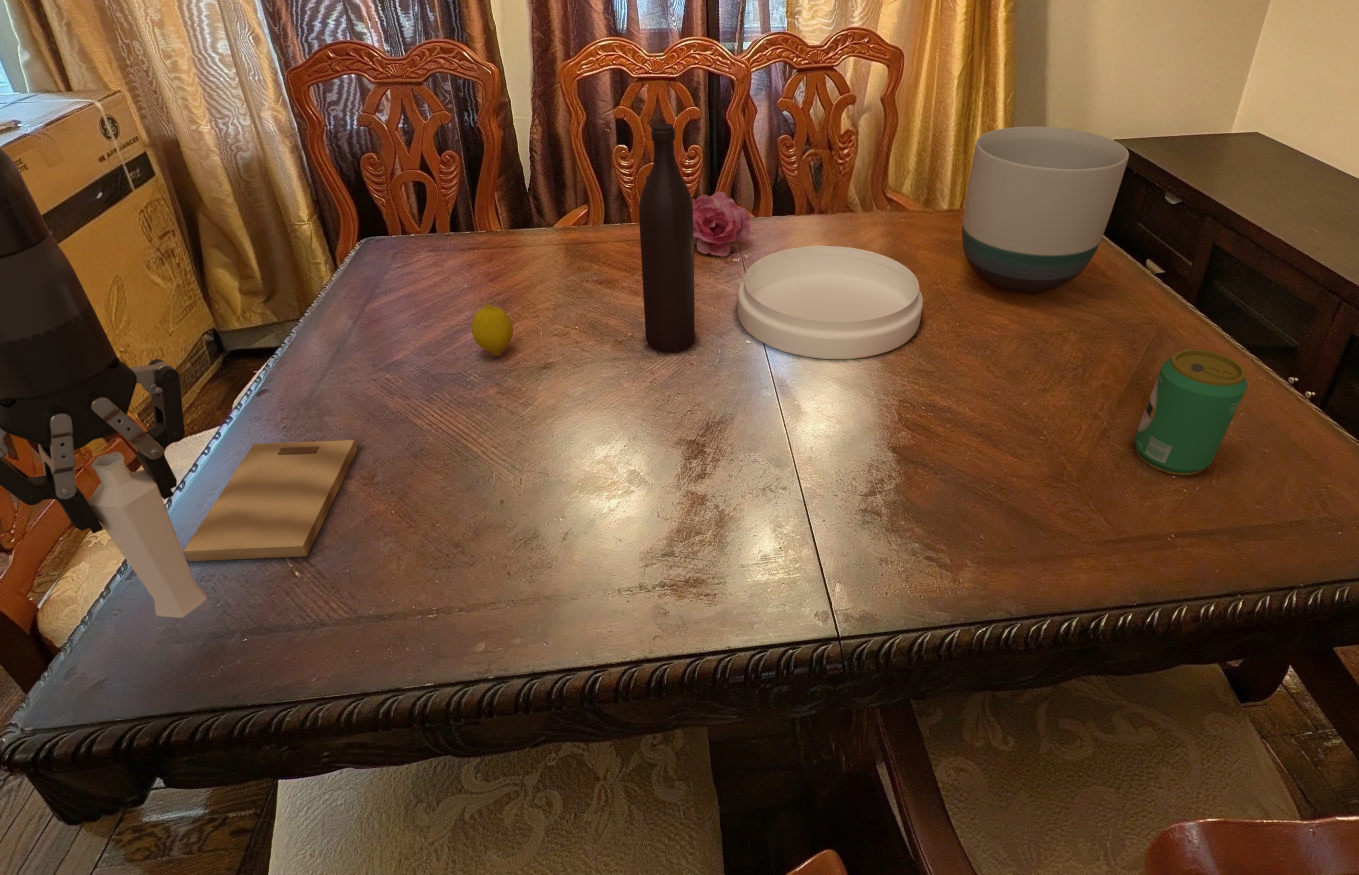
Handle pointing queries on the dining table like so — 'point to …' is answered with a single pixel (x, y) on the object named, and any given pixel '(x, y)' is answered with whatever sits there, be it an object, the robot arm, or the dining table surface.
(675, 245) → the wine bottle
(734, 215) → the flower
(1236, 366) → the beverage can
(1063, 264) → the planter
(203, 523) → the serving board
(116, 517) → the perfume bottle
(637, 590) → the dining table surface
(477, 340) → the fruit
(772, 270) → the plate
